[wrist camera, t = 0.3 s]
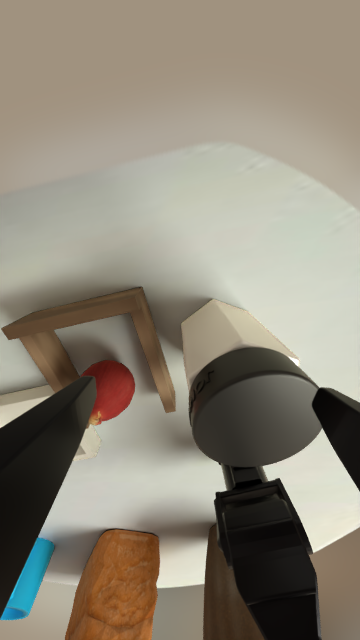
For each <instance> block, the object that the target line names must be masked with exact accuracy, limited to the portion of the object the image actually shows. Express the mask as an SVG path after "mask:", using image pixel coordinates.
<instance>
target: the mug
mask: <svg viewBox="0 0 360 640" xmlns="http://www.w3.org/2000/svg"><path fill="white" fill-rule="evenodd" d="M54 548H55V546H54V544H53V543H52V542H50V541H49V540H46V539H43V538H37V540H36V542H35V544H34V546H33V549H32V551H31V553H30V555H29V557H28V560H27V562H26V564H25V566H24V568H23V570H22V573H21V575H20V577H19V579H18V581H17V584H16V586H15V588H14V590H13V592H12V595H11V597H10V599H9V601H8V603H7V606H6V608H5V610H4V612H3V614H2V616H1V619H0V620H17V619H22V618H25V617H27V616H28V615H29V613H30V610H31V608H32V605H33V603H34V600H35V598H36V595H37V592H38V590H39V587H40V585H41V582H42V579H43V577H44V574H45V572H46V569H47V566H48V564H49V561H50V559H51V556H52V553H53V551H54Z"/></svg>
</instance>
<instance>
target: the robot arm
mask: <svg viewBox="0 0 360 640" xmlns="http://www.w3.org/2000/svg"><path fill="white" fill-rule="evenodd" d="M96 396H97V390H96V380H95V377H94V376H82V377H80V378H78V379H77V380H75V381H74V382H72V383H71V384H69V385H67V386H66V387H64V388H63V389H61V390H60V391H58V392H56V393H55V394H53V395H52V396H50V397H48V398H47V399H45V400H44V401H42V402H41V403H39V404H37V405H36V406H34V407H33V408H31V409H29V410H28V411H26V412H25V413H23V414H22V415H20V416H18V417H17V418H15V419H14V420H12V421H11V422H9V423H7V424H6V425H4V426H3V427H1V428H0V619H1V616H2V614H3V612H4V610H5V608H6V606H7V603H8V601H9V599H10V597H11V595H12V592H13V590H14V588H15V586H16V584H17V581H18V579H19V577H20V575H21V573H22V570H23V568H24V566H25V564H26V562H27V560H28V557H29V555H30V553H31V551H32V549H33V546H34V544H35V542H36V540H37V538H38V535H39V533H40V531H41V529H42V527H43V525H44V522H45V520H46V518H47V516H48V514H49V511H50V509H51V507H52V505H53V503H54V500H55V498H56V496H57V494H58V492H59V489H60V487H61V485H62V483H63V481H64V479H65V476H66V474H67V472H68V470H69V468H70V465H71V463H72V461H73V459H74V457H75V454H76V452H77V450H78V448H79V446H80V443H81V441H82V438H83V435H84V433H85V430H86V427H87V424H88V421H89V418H90V415H91V412H92V409H93V406H94V403H95V400H96ZM312 408H313V410H314V412H315V414H316V416H317V418H318V420H319V422H320V424H321V426H322V428H323V430H324V432H325V434H326V435H327V437H328V439H329V441H330V443H331V445H332V447H333V449H334V450H335V452H336V454H337V455H338V457H339V459H340V460H341V462H342V463H343V465H344V467H345V468H346V470H347V472H348V473H349V475H350V476H351V478H352V480H353V481H354V483H355V484H356V486H357V488H358V489H359V491H360V403H359V402H357V401H355V400H353V399H352V398H350V397H348V396H346V395H344V394H342V393H340V392H338V391H336V390H334V389H332V388H323V387H321V388H319V389H318V390H317V392H316V394H315V397H314V399H313V401H312ZM218 463H219V462H218ZM219 465H221V466H222V470H223V475H224V480H225V484H226V489H227V491H224V492H216V499H215V500H214V505H215V511H216V520H217V543H218V547H219V549H220V550H221V551H222V552H223V554H224V557H225V559H226V562H227V565H228V568H229V569H233V572H234V577H235V582H236V586H237V589H238V592H239V594H240V595H241V597H242V599H243V601H244V603H245V604H246V606H247V608H248V610H249V612H250V614H251V615H252V617H253V619H254V621H255V623H256V625H257V626H258V628H259V630H260V632H261V634H262V636H263V637H264V639H265V640H322V639H321V627H320V613H319V599H318V586H317V576H316V572H315V569H314V567H313V565H312V562H311V560H310V557H309V555H311V554H313V551H312V548H311V545H310V542H309V539H308V537H307V534H306V532H305V529H304V527H303V525H302V523H301V520H300V518H299V516H298V514H297V512H296V510H295V508H294V506H293V504H292V502H291V500H290V498H289V496H288V494H287V492H286V490H285V488H284V486H283V484H282V482H281V480H280V478H277V479H275V480H272V481H268V480H267V477H266V475H265V472H264V470H263V467H262V466H258V467H235V466H230V465H225V464H222V463H219Z"/></svg>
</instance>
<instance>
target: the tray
mask: <svg viewBox="0 0 360 640" xmlns="http://www.w3.org/2000/svg"><path fill="white" fill-rule="evenodd" d="M53 394H55V392H54V391H53V389H52V388H51V386H50V385H45V386H41V387H36V388H31V389H27V390H22V391H17V392H12V393H8V394H3V395H0V428H1V427H3V426H4V425H6V424H7V423H9V422H11V421H12V420H14V419H15V418H17V417H18V416H20V415H22V414H23V413H25V412H26V411H28V410H29V409H31V408H33V407H34V406H36V405H37V404H39V403H41V402H42V401H44V400H45V399H47V398H48V397H50V396H52V395H53ZM100 444H101V439H100V437H99V436H98V434H97V432H96V431H95V429H94V427H93V426H92V425H91V424H90V426H89V428H88V429H86V430H85V433H84V435H83V438H82V441H81V443H80V446H79V448H78V450H77V452H76V454H75V457H74V459H73V461H77V460H82V459H87V458H93V457H96V455H97V452H98V450H99V447H100Z"/></svg>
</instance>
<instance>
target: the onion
mask: <svg viewBox="0 0 360 640" xmlns="http://www.w3.org/2000/svg"><path fill="white" fill-rule="evenodd" d="M82 376H94V377H95V380H96V390H97V396H96V400H95V403H94V406H93V409H92V412H91V415H90V418H89V423H90V424H91V425H98V424H101V422H102V421H107V420H109V419H112V418H114V417H116V416H118V415H119V414H120V413H121V412H122V411H123V410H125V409H126V408H127V407H128V405H129V404H130V402H131V399H132V397H133V394H134V392H135V381H134V377H133V375H132V373H131V372H130V370H129V369H128V368H127V367H126V366H124V365H123V364H122V363H119V362H116V361H113V360H104V361H101V362H98V363H95V364H93V365H91V366H90V367H89V368H88V369H87V370H86V371H85V372H84V373H83V374H82V375H81V377H82Z"/></svg>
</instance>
